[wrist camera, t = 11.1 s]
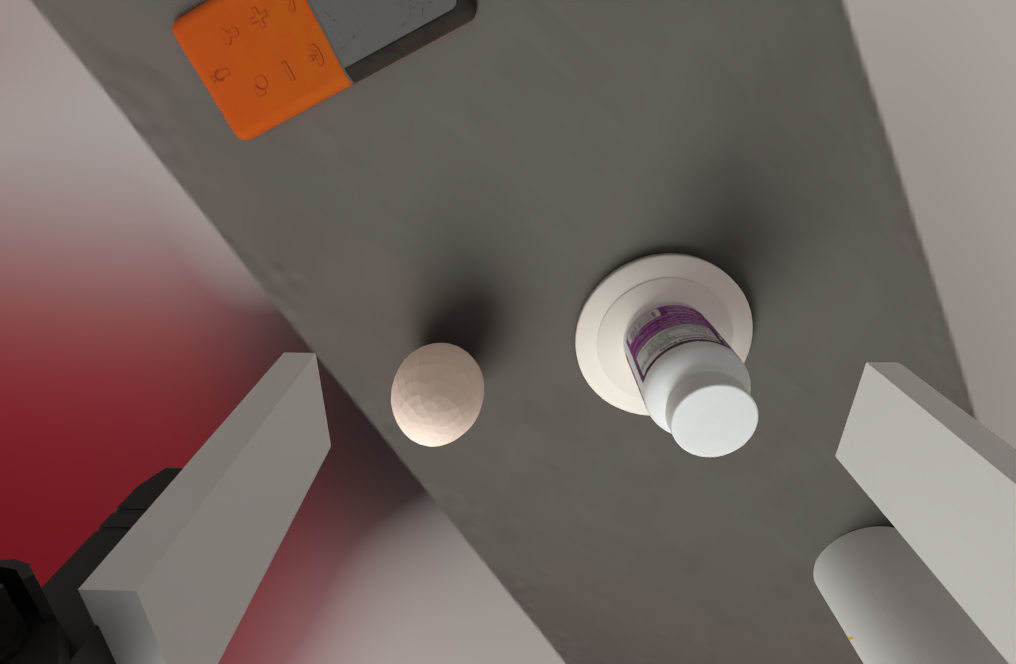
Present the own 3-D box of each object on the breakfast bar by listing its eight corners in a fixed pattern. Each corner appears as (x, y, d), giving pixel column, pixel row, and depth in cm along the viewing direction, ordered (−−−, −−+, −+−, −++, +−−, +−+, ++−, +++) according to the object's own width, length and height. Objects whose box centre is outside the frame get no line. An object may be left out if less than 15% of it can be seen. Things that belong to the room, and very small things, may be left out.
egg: (475, 317, 34) (462, 376, 27) (496, 389, 36) (490, 462, 29) (394, 335, 35) (360, 398, 28) (420, 405, 37) (395, 481, 30)
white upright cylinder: (796, 593, 43) (889, 761, 32) (841, 517, 40) (962, 676, 29) (890, 610, 44) (1013, 781, 33) (942, 536, 41) (1098, 699, 30)
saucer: (582, 249, 32) (584, 253, 31) (765, 256, 32) (772, 260, 31) (568, 405, 37) (569, 413, 36) (729, 412, 37) (734, 420, 36)
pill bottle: (709, 368, 34) (774, 463, 25) (626, 381, 35) (661, 478, 26) (706, 290, 32) (775, 363, 23) (617, 304, 33) (652, 382, 24)
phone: (161, 22, 27) (417, -135, 25) (176, 25, 29) (422, -124, 26) (236, 144, 30) (479, 13, 27) (247, 143, 31) (481, 17, 28)
